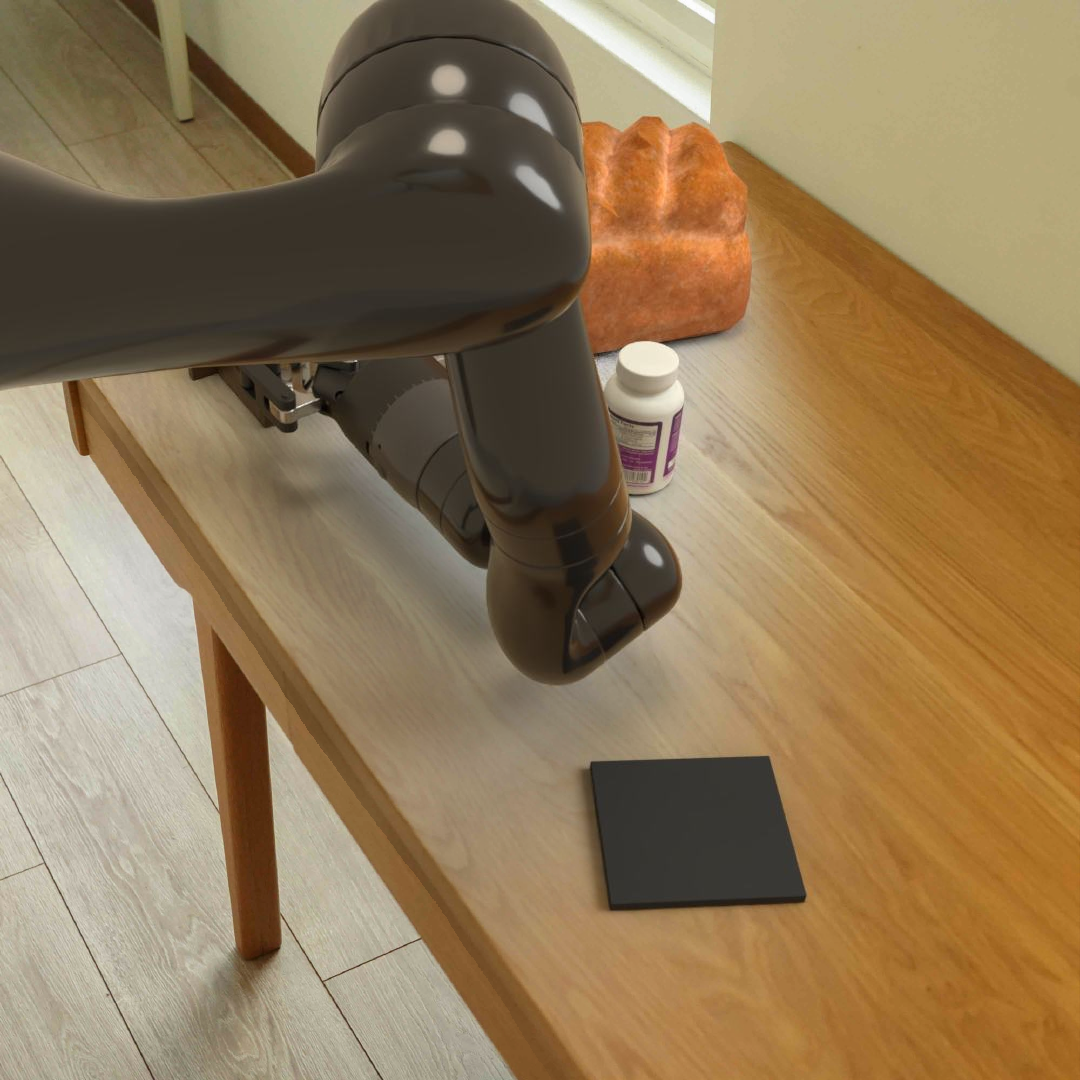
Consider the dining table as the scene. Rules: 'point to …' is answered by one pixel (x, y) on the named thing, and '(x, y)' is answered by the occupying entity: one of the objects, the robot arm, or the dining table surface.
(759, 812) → the coaster
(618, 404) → the pill bottle
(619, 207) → the bread
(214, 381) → the dining table surface
